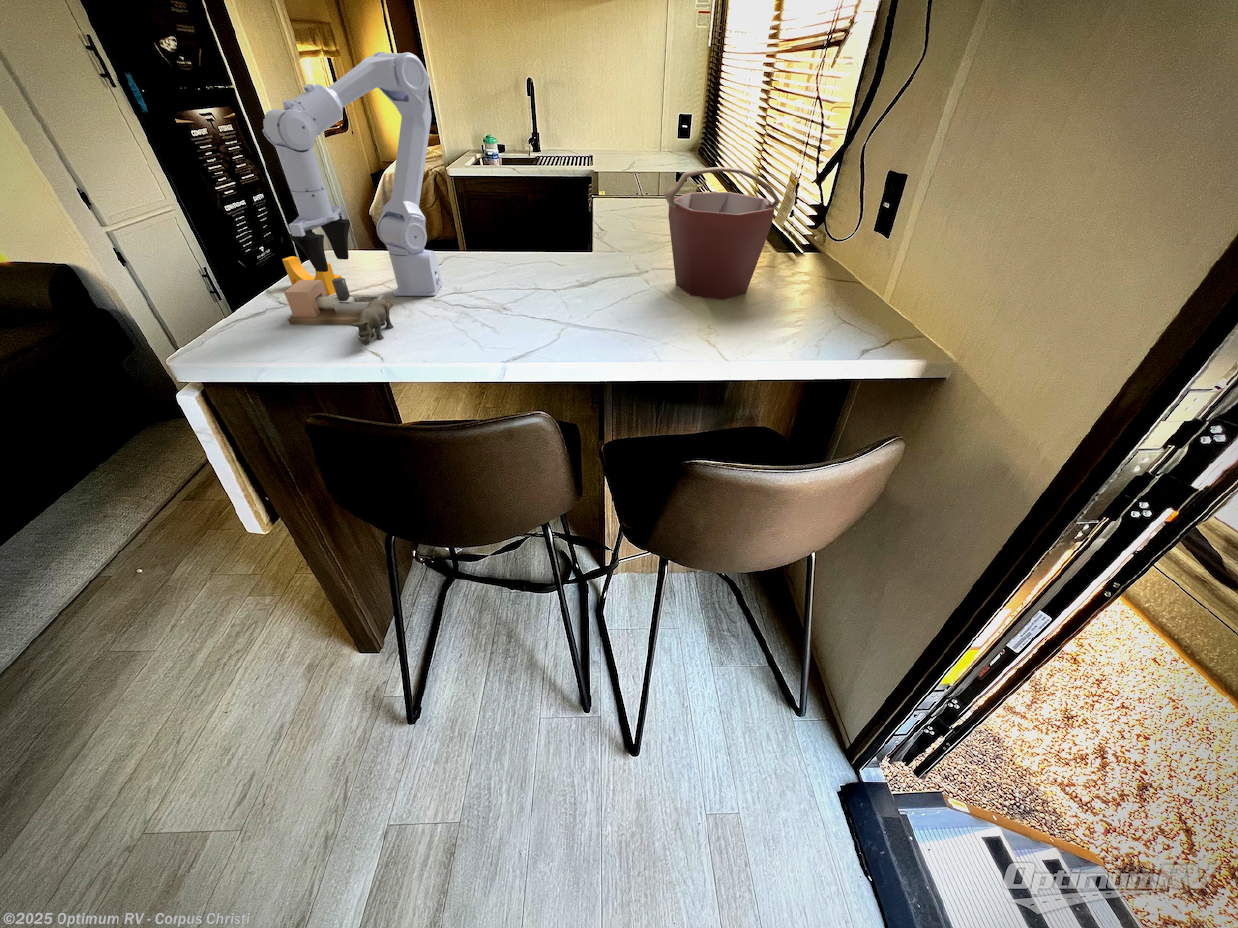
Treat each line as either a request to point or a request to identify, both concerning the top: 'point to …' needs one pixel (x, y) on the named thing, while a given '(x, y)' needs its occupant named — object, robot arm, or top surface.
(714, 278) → the bucket
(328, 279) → the orange piece
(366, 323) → the rhino figurine
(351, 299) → the bolt
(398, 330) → the top surface
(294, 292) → the socket
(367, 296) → the channel
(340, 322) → the board
